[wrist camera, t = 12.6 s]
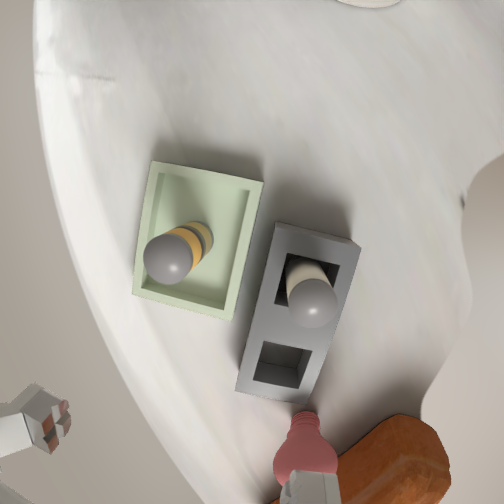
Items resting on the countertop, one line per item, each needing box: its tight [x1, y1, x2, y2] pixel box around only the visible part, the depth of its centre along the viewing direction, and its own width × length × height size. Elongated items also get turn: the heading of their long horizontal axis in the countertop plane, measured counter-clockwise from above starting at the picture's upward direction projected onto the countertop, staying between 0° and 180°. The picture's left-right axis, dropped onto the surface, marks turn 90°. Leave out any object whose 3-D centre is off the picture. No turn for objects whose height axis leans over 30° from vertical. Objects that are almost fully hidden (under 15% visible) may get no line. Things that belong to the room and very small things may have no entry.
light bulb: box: [273, 411, 338, 486], centre depth 31 cm, size 7×7×12 cm
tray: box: [132, 161, 264, 322], centre depth 31 cm, size 14×11×2 cm
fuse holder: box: [235, 222, 361, 405], centre depth 31 cm, size 18×8×4 cm, turn 167°
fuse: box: [285, 255, 338, 328], centre depth 28 cm, size 4×4×9 cm
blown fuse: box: [143, 221, 214, 285], centre depth 27 cm, size 4×4×9 cm
